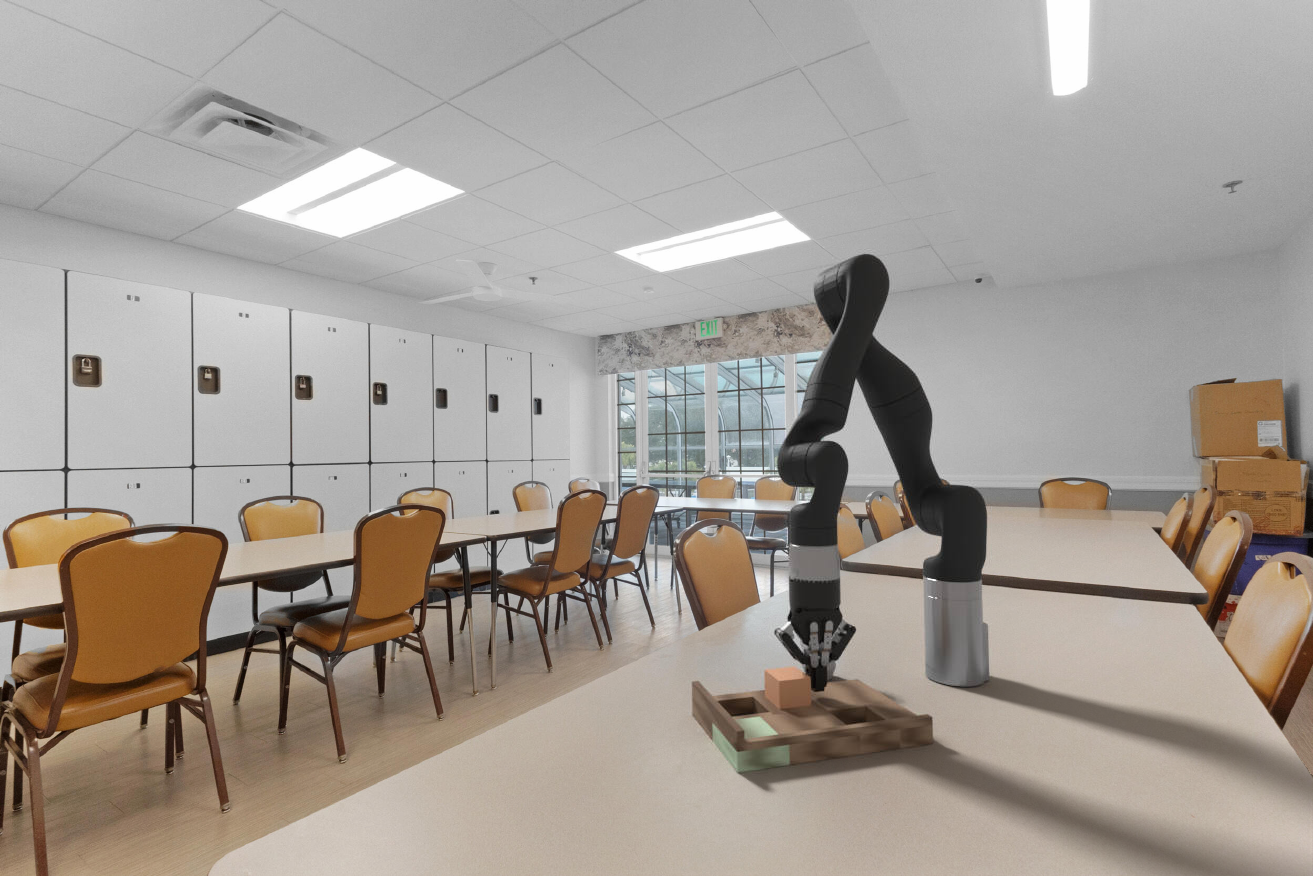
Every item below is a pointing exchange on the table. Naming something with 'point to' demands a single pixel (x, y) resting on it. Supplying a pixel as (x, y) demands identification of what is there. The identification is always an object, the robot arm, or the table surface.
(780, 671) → the terracotta block
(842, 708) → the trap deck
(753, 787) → the table surface
